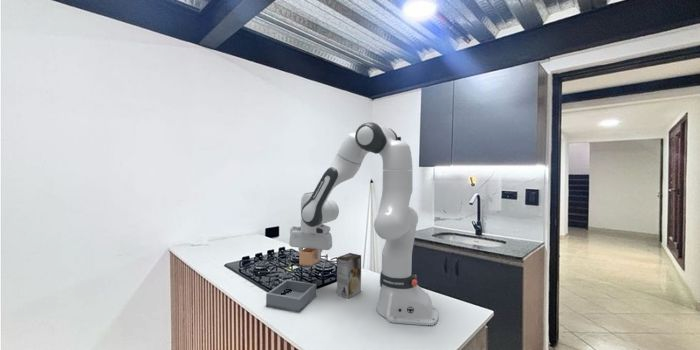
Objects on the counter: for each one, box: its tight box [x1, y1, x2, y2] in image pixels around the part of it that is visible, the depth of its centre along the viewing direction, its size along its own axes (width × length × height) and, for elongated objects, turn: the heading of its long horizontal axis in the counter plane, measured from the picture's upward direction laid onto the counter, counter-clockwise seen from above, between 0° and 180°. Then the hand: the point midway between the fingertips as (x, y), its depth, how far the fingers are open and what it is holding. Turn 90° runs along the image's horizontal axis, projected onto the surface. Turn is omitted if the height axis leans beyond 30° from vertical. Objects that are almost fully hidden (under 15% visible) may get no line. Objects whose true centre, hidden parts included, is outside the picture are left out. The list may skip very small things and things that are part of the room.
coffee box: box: [336, 252, 362, 299], centre depth 121 cm, size 9×6×16 cm
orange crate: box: [298, 248, 322, 267], centre depth 129 cm, size 6×10×6 cm, turn 163°
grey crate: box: [265, 279, 317, 314], centre depth 113 cm, size 14×15×5 cm
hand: (310, 257), depth 129 cm, fingers closed on orange crate, 6 cm apart
